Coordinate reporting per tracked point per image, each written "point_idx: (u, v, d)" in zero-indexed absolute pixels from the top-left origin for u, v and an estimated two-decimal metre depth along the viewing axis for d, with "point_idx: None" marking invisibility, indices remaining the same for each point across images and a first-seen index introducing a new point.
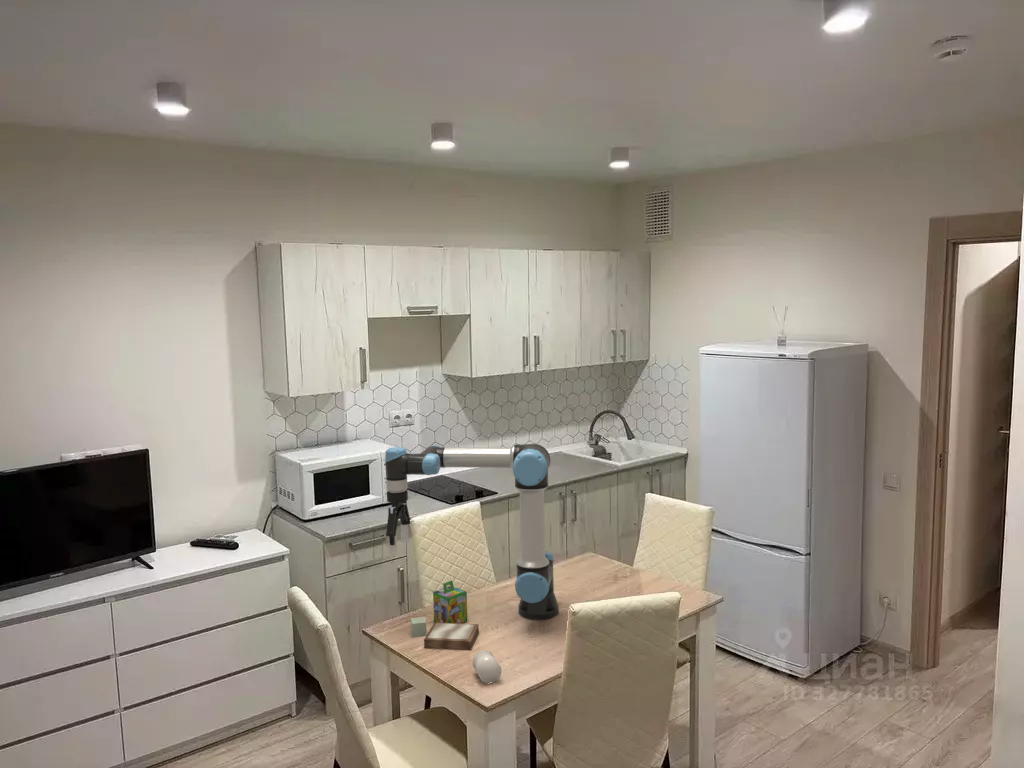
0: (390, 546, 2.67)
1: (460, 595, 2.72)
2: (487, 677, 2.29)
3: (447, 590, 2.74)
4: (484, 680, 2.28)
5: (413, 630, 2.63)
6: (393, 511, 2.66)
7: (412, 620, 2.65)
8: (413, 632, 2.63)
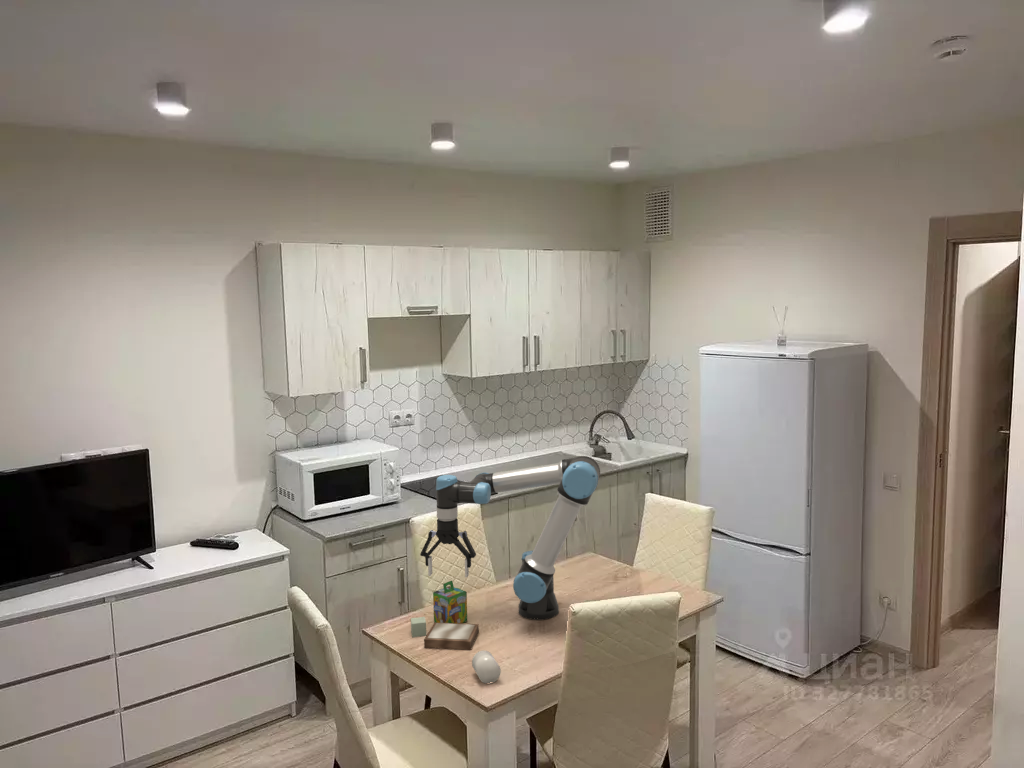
0: None
1: (460, 595, 2.72)
2: (486, 677, 2.29)
3: (447, 590, 2.74)
4: (484, 680, 2.28)
5: (413, 630, 2.63)
6: None
7: (412, 620, 2.65)
8: (413, 632, 2.63)
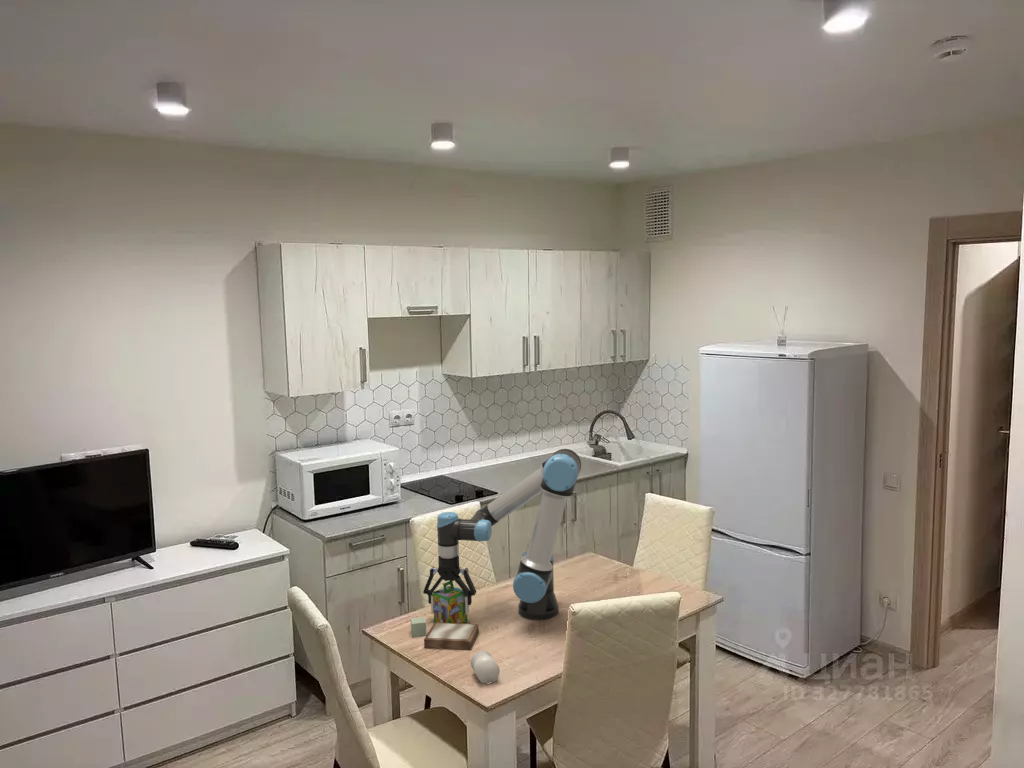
0: None
1: (460, 595, 2.72)
2: (485, 677, 2.28)
3: (447, 589, 2.74)
4: (483, 681, 2.28)
5: (413, 630, 2.63)
6: None
7: (412, 620, 2.65)
8: (413, 632, 2.63)
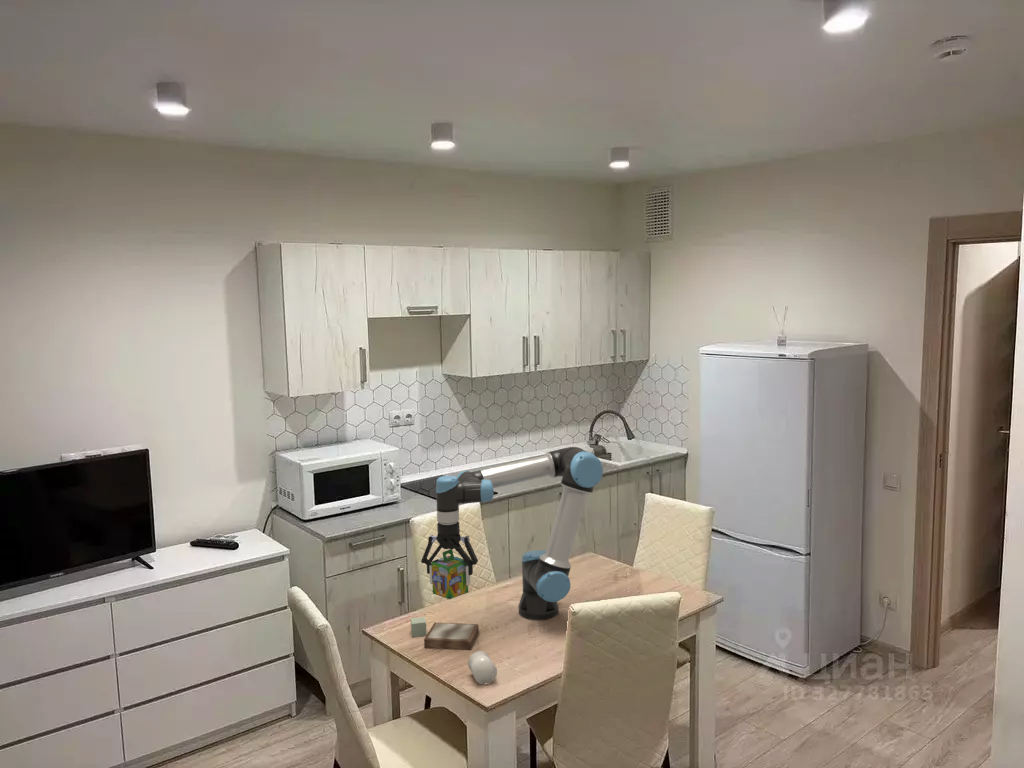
0: None
1: (460, 564, 2.55)
2: (484, 678, 2.28)
3: (447, 558, 2.57)
4: (483, 682, 2.28)
5: (413, 630, 2.63)
6: None
7: (412, 620, 2.65)
8: (413, 632, 2.63)
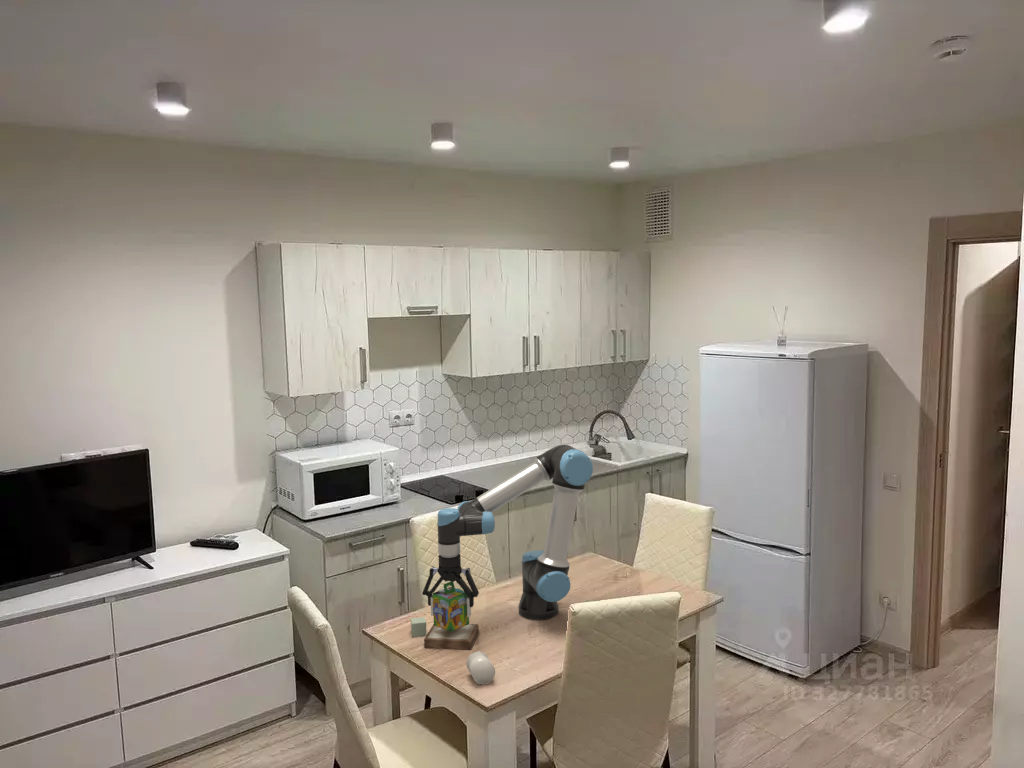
0: None
1: (461, 597, 2.56)
2: (483, 679, 2.28)
3: (448, 591, 2.58)
4: (483, 682, 2.28)
5: (413, 630, 2.63)
6: None
7: (412, 620, 2.65)
8: (413, 632, 2.63)
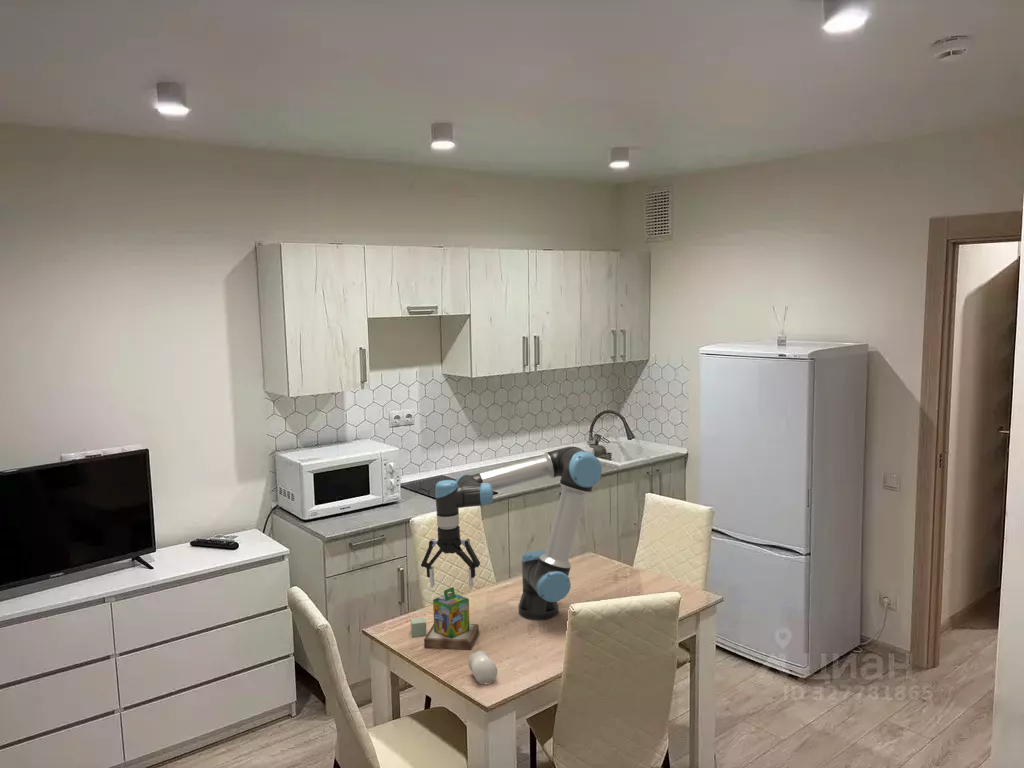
0: None
1: (462, 603, 2.57)
2: (484, 678, 2.28)
3: (448, 597, 2.58)
4: (483, 682, 2.28)
5: (413, 630, 2.63)
6: None
7: (412, 620, 2.65)
8: (413, 632, 2.63)
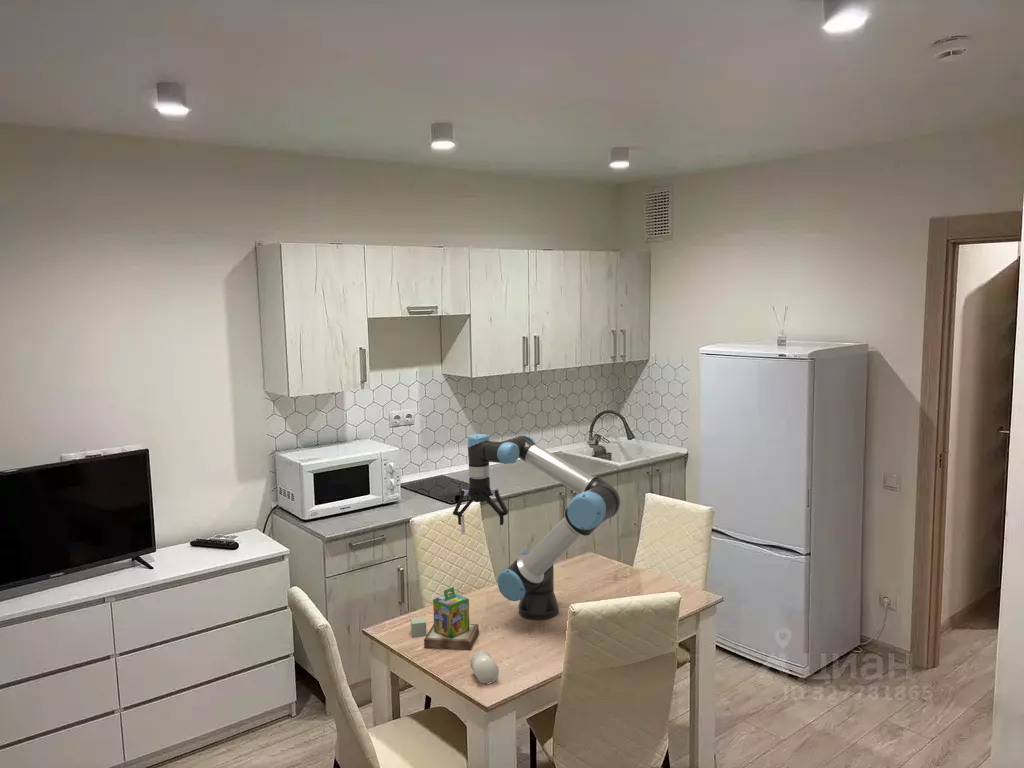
0: None
1: (462, 603, 2.57)
2: (485, 678, 2.28)
3: (448, 597, 2.58)
4: (483, 681, 2.28)
5: (413, 630, 2.63)
6: (461, 493, 2.76)
7: (412, 620, 2.65)
8: (413, 632, 2.63)
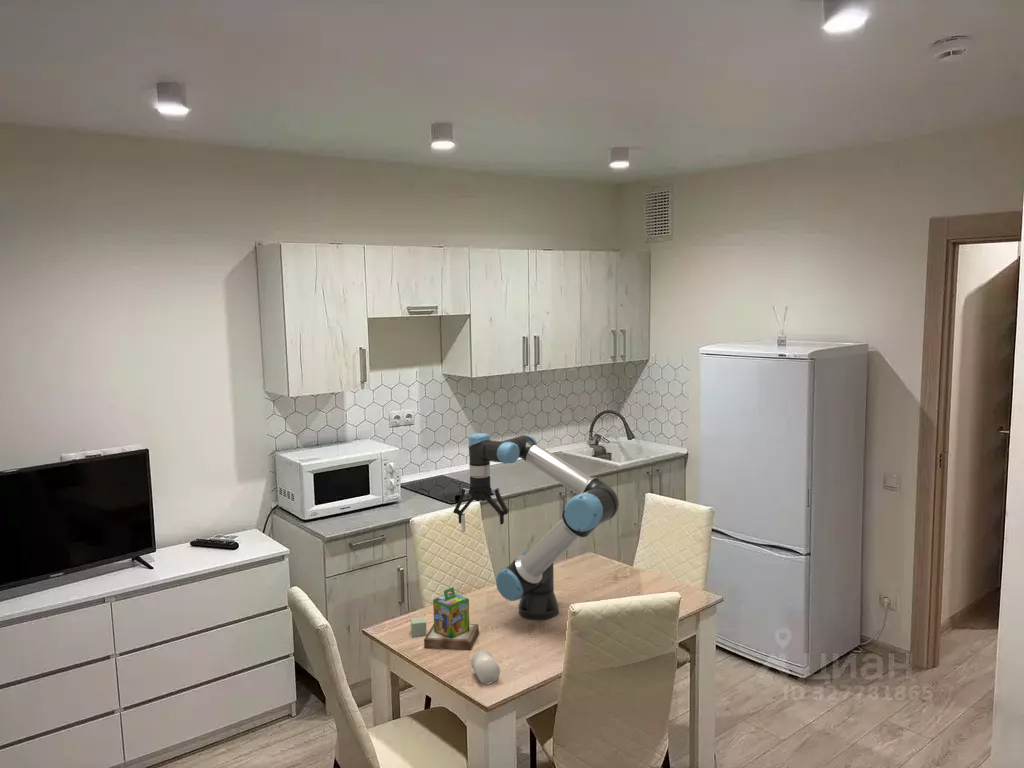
0: None
1: (462, 603, 2.57)
2: (486, 677, 2.29)
3: (448, 597, 2.58)
4: (484, 681, 2.28)
5: (413, 630, 2.63)
6: None
7: (412, 620, 2.65)
8: (413, 632, 2.63)
